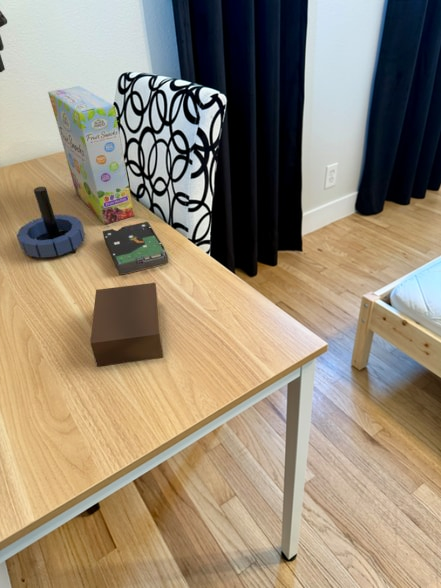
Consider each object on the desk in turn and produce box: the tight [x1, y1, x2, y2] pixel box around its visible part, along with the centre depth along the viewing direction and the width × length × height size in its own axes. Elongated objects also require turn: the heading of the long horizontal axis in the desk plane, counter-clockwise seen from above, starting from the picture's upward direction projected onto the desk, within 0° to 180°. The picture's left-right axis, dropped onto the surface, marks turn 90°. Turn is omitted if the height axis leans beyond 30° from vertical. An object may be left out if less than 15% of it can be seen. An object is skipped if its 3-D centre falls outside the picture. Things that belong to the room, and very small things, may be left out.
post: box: [30, 186, 78, 259], centre depth 90 cm, size 9×9×13 cm
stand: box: [89, 282, 164, 367], centre depth 69 cm, size 10×13×5 cm
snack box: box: [47, 85, 136, 225], centre depth 101 cm, size 22×9×26 cm, turn 33°
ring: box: [16, 214, 86, 259], centre depth 92 cm, size 13×13×3 cm
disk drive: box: [102, 221, 169, 276], centre depth 89 cm, size 10×3×15 cm
